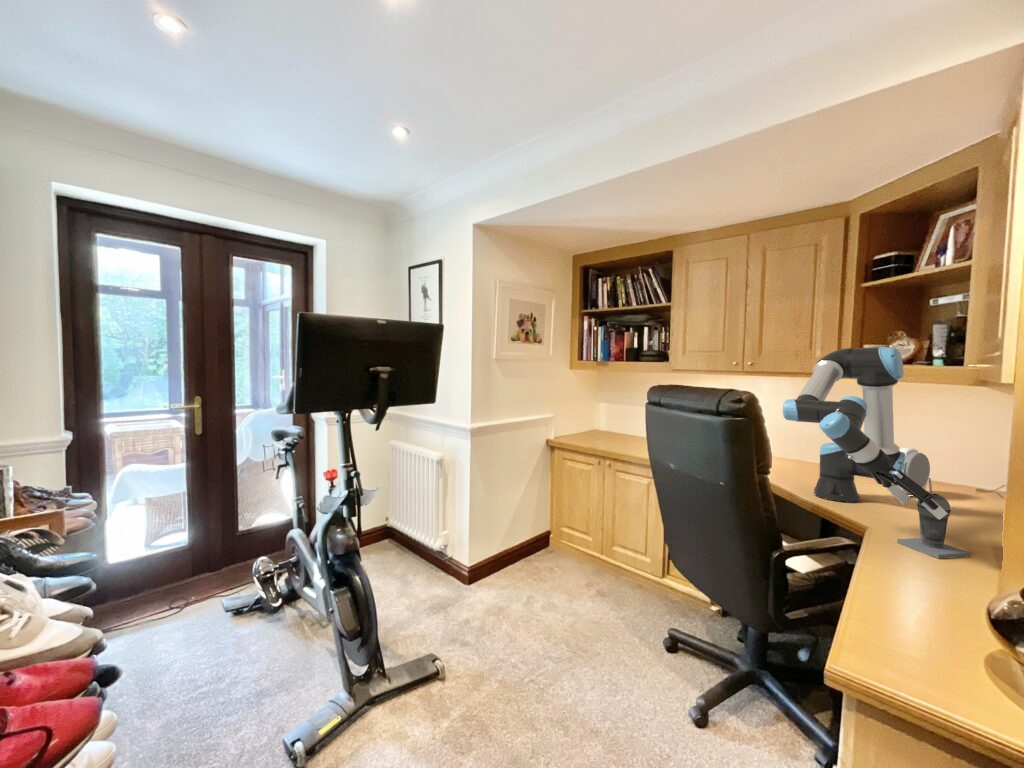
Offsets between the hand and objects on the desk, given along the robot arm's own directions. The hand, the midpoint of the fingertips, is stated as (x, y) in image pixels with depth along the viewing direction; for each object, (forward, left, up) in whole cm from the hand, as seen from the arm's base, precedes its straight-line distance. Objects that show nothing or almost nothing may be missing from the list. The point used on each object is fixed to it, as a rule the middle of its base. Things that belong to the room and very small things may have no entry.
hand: (924, 508), depth 124 cm
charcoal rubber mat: (-3, +1, -12) cm, 13 cm away
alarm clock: (-57, -49, -13) cm, 76 cm away
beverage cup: (-3, +1, -11) cm, 12 cm away
